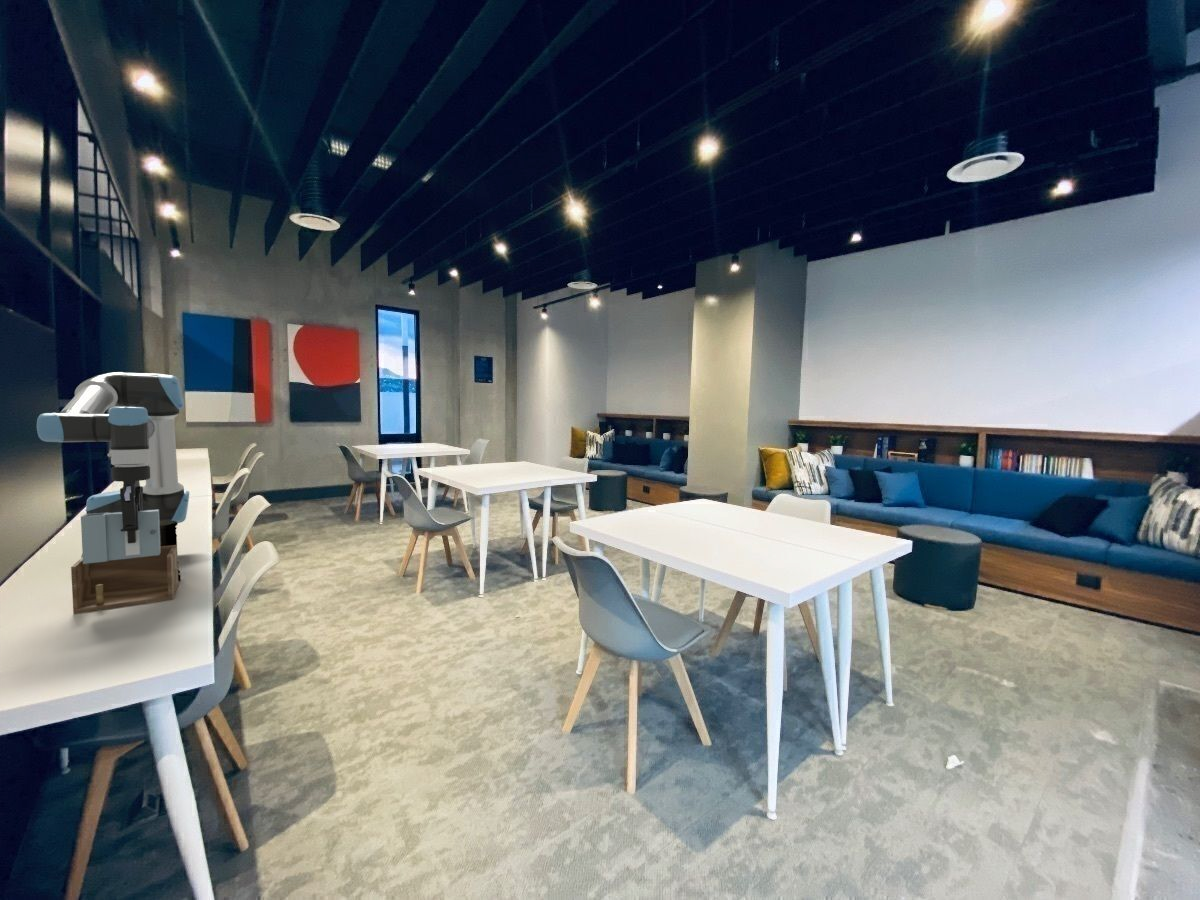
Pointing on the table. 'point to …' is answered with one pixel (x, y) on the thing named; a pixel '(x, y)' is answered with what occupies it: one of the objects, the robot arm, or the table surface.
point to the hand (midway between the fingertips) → (134, 553)
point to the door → (117, 536)
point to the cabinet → (124, 581)
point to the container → (168, 535)
